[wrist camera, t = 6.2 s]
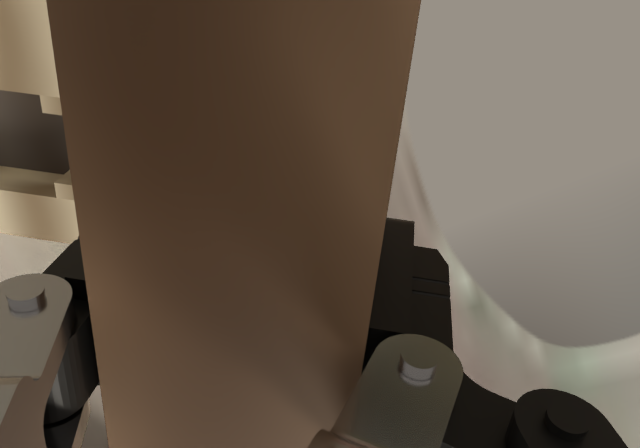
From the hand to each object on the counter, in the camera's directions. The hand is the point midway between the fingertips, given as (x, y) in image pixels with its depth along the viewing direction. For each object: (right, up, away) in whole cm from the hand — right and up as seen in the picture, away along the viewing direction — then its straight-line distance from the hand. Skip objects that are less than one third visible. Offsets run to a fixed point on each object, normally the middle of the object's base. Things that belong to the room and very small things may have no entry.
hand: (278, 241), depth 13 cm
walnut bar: (0, +1, +2) cm, 2 cm away
